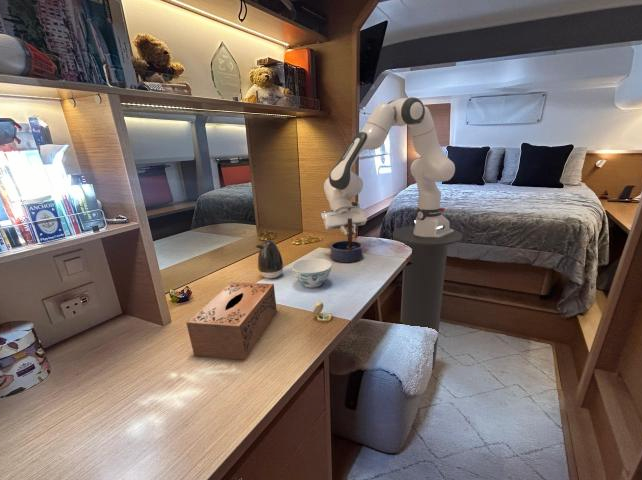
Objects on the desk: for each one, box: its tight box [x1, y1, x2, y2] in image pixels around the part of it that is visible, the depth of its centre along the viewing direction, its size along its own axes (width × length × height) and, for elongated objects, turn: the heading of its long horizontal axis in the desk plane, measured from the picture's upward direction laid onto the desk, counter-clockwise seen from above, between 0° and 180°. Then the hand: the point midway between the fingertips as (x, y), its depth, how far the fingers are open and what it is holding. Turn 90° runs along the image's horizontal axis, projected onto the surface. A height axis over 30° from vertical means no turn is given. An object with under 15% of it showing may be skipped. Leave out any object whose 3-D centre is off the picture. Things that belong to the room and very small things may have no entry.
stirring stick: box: [347, 218, 354, 250], centre depth 152 cm, size 3×3×16 cm
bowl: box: [329, 240, 363, 263], centre depth 154 cm, size 14×14×6 cm
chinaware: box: [291, 257, 333, 288], centre depth 128 cm, size 15×15×8 cm
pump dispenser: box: [255, 239, 285, 279], centre depth 136 cm, size 10×10×15 cm
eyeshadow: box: [312, 301, 332, 323], centre depth 104 cm, size 4×5×5 cm
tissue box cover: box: [186, 281, 278, 361], centre depth 98 cm, size 26×14×10 cm, turn 169°
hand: (350, 234), depth 152 cm, fingers closed on stirring stick, 2 cm apart
